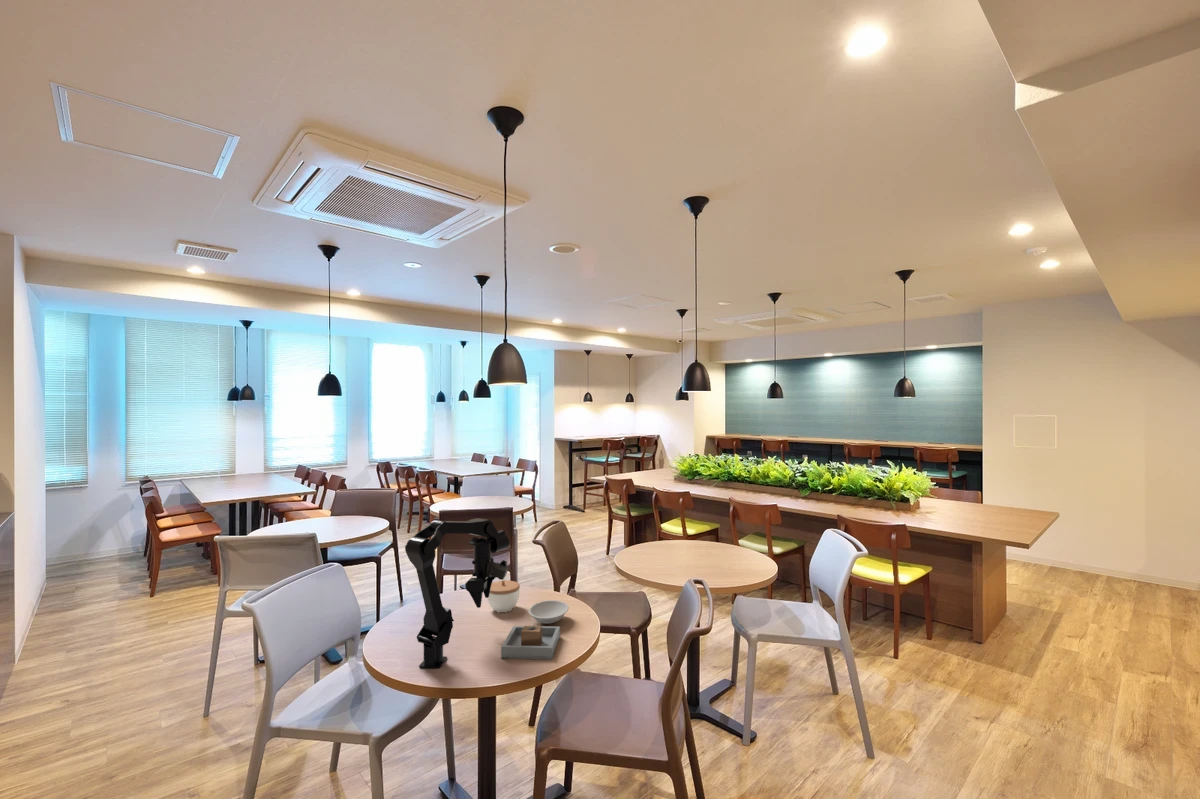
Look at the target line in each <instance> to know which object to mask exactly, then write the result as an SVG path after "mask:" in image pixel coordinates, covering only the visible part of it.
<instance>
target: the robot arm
mask: <svg viewBox="0 0 1200 799" xmlns="http://www.w3.org/2000/svg"><path fill="white" fill-rule="evenodd" d="M447 534H452V535H453V534H456V535H457V534H458V535H459V534H464V535H465V534H468V535H473V536H474V537H472V539H471V540H470V541H469V542H468V545H469V546H473V559H472V561H471V562H472V563H471V564H472V565H473V572H472V573H471V574H472V576H471V578H469V579H468V580H467V581H466V582H465V583H464V585H465V586H464V589H465V591H467V592H468V593H469V595H470V597H471V598H472V600H473V602H474V605H475V606H476V608H477V609H478V608H479V609H480V608H481V607H482V601H483V595H484V597H485V598H486V599H488V597H489V594H490V589H491V585H492V583H493V582H494V581H493V580H495V579H496V578H497V579H498V580H500V581H502V580H504V579H505V577H507V575H508V574H507V573H508V571H509V565H508V561H507V560H501V562H495V560H494V557H493V556H492V553H493V554H495V553H498V552H501V551H504V550H506V549H508V548H509V546H510V539H509V537H508V535H507V534H506V530H503V529H500V530H497V528H496V526H495V525H494V522H493V520H490V519H485V518H478V517H477V518H473V519H472V518H471V519H469V520H466V521H465V520H464V521H459V520H457V521H456V520H455V521H454V520H439V519H438V520H437V519H436V520H435V519H434V520H432V521H431V522H430V523H429V524H428V525H427V526H425V527H424V528H423V529H421V530H419V531H418V532H417V533H416V534H414V536H411V538H409V539H408V540H407V542H406V544H405V545H404V549H405V550H404V551H405V553H406V556H407V557H408V560H409V562H410V563H411V564H412V565H413V566H414V568H415V569H416V573H417V574H416V575H417V578H418V582H419V587H420V591H421V595H422V599H423V602H424V603H423V604H424V607H425V613H424V616H423V626H422V627H421V629H420V630H419V632H418V634H417V636H416V639H417V642H418V643H421V644H423V660H422V662H421V663H420V664H419V665H418V667H419V668H420V669H422V668H424V669H439V668H441V667H442V666H443V665H444V663H445V662H446V661H447V659H448V656H447V655H445V656H444V646H446V645H447V644H449V642H450V637H451V635H452V634H451V633H452V629H454V628H453V627H454V624H453V622H455V620H454V619H453V615H452V609H451V608H448V607H444V606H443V602H442V598H441V594H440V589H439V585H438V580H437V577H436V576H437V575H436V572H435V568H434V561H435V559H436V556H437V555H436V550H437V549H438V548H439V546H440V545H441V542H442V541H443V538H444V537H445V535H447ZM475 536H478V537H479V538H478V537H475Z"/></svg>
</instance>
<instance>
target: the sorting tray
mask: <svg viewBox="0 0 1200 799" xmlns="http://www.w3.org/2000/svg"><path fill="white" fill-rule="evenodd" d="M524 626H525V625H513V626H512V628H511V629H510V631H509V633H508V635H507V636H506V638H505V640H504V641H503V643H502V645H501V646H500V650H501V651H500V656H501V658H500V659H505V658H510V659H511V660H515V659H518V660H553V658H554V656H555V653H556V650H557V648H556V647H558V645H557V644H559V641H560V639H561V626H554V625H553V626H549V625H548V626H544V625H541V626H542V643H541V646H521V630H522V629H523V627H524ZM559 638H560V639H559ZM513 658H514V659H513Z"/></svg>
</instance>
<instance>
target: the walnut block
mask: <svg viewBox="0 0 1200 799" xmlns="http://www.w3.org/2000/svg"><path fill="white" fill-rule="evenodd" d="M523 626H524V627H523V629H522V630H521V646H541V643H542V626H543V625H523Z"/></svg>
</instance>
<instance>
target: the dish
mask: <svg viewBox="0 0 1200 799" xmlns="http://www.w3.org/2000/svg"><path fill="white" fill-rule="evenodd" d="M569 608H570V607H569V605H568V604H567V603H566V602H565V601H563V600H558V599H557V600H556V599H549V600H542V601H539V602H536V603H534V604H532V605H531V606H530V607H529V608H528V614H529V616H530V617H532V618H533V619H534V620H535V621H536V622H538V623H541V624H544V625H545V624H546V625H547V624H553V623H556V622H558V621H559V620H561V619H562V618H563V617H564V616H565V614H566V613H567V612H569Z"/></svg>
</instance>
